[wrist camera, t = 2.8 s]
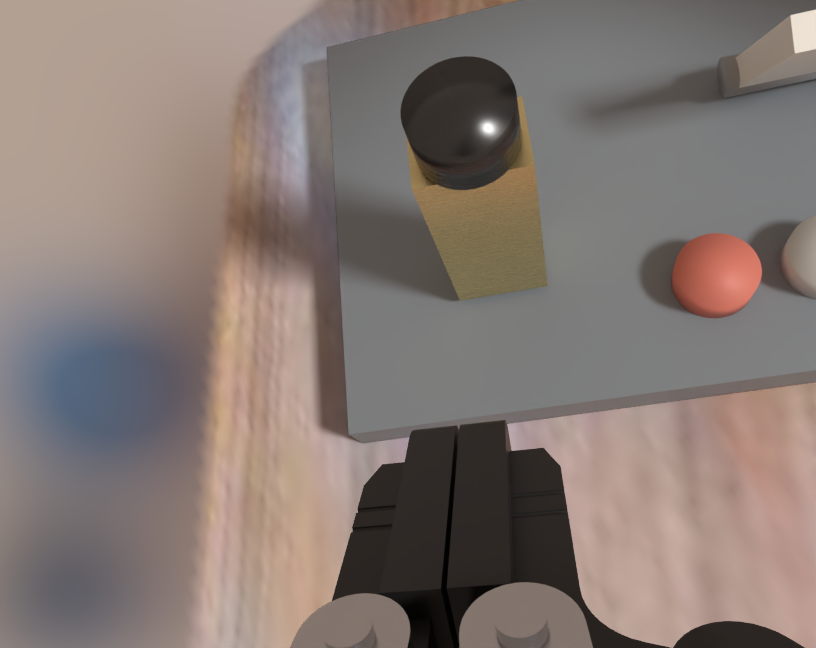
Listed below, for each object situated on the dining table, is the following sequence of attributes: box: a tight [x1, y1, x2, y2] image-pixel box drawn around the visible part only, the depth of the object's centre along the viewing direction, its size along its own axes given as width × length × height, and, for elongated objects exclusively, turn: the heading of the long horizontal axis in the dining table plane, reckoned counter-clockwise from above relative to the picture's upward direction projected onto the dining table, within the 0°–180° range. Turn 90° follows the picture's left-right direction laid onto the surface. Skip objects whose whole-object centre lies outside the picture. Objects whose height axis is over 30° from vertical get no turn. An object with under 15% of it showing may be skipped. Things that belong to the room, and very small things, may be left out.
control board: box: [327, 0, 816, 443], centre depth 30 cm, size 24×20×3 cm
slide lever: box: [400, 56, 548, 301], centre depth 24 cm, size 4×3×11 cm
